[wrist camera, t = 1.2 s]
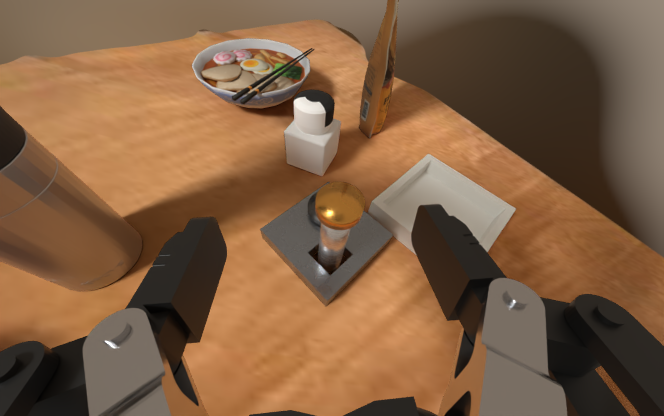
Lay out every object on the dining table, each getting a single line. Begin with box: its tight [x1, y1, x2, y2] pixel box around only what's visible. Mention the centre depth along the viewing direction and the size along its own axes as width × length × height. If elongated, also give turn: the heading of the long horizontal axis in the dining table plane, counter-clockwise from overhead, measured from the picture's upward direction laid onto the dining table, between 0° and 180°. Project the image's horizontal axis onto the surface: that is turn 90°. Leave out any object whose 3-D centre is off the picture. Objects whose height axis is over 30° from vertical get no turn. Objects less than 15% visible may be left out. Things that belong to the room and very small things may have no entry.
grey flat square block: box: [260, 182, 393, 306], centre depth 35 cm, size 13×13×4 cm
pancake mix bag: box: [359, 0, 399, 138], centre depth 44 cm, size 7×19×28 cm, turn 168°
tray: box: [367, 154, 516, 254], centre depth 39 cm, size 16×16×4 cm
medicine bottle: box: [284, 90, 341, 176], centre depth 41 cm, size 7×7×12 cm
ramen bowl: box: [192, 38, 314, 108], centre depth 52 cm, size 25×23×8 cm
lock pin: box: [315, 182, 365, 272], centre depth 29 cm, size 5×5×14 cm
